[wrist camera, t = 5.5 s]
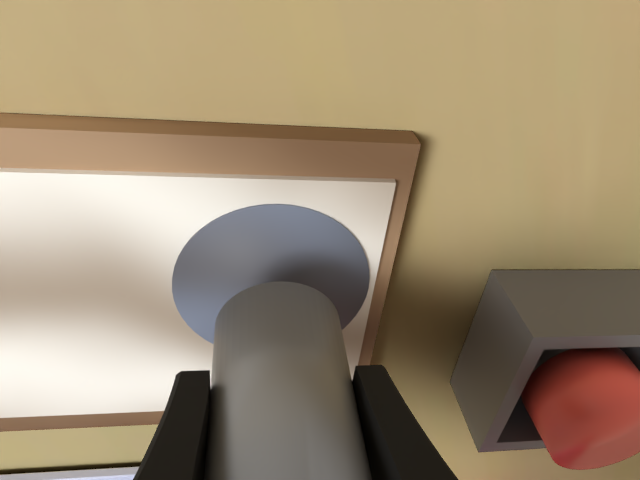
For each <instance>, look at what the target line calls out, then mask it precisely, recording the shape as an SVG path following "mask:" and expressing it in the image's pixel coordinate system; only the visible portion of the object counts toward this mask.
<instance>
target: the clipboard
mask: <svg viewBox="0 0 640 480" xmlns="http://www.w3.org/2000/svg"><path fill="white" fill-rule="evenodd" d="M420 146H421V144H420V142H419V141H418V139H417V137H416V136H415V134H414V133H413V131H398V130H375V129H352V128H329V127H307V126H284V125H261V124H238V123H216V122H193V121H170V120H147V119H124V118H102V117H79V116H56V115H33V114H11V113H0V432H2V431H23V430H44V429H66V428H87V427H109V426H130V425H151V424H159V422H160V420H161V418H162V415H163V413H164V410H165V408H166V405H167V402H168V399H169V396H170V393H171V390H172V387H173V384H174V380H175V376H176V374H178V373H179V372H180V371H197V370H210V388H211V374H212V359H213V345H214V331H215V322H216V318H217V316H218V313H219V311H220V310H221V308H222V307H223V306H224V305H225V303H226V302H227V301H228V300H230V299H231V298H232V297H233V296H235V295H236V294H238V293H239V292H241V291H243V290H245V289H247V288H249V287H252V286H255V285H259V284H263V283H268V282H280V281H283V282H294V283H300V284H303V285H307V286H309V287H312V288H314V289H316V290H318V291H320V292H321V293H323V294H324V295H325V296H327V297H328V298H329V299H330V300H331V302H332V303H333V304H334V306H335V308H336V310H337V312H338V315H339V319H340V324H341V329H342V334H343V339H344V344H345V349H346V354H347V359H348V364H349V369H350V374H351V378H352V380H353V375H354V371H355V366H360V365H370V363H371V358H372V354H373V350H374V345H375V341H376V337H377V332H378V328H379V324H380V319H381V315H382V311H383V306H384V302H385V298H386V293H387V289H388V285H389V280H390V276H391V272H392V267H393V263H394V259H395V254H396V250H397V246H398V241H399V237H400V233H401V228H402V224H403V220H404V216H405V211H406V207H407V203H408V198H409V194H410V190H411V185H412V181H413V177H414V172H415V168H416V164H417V159H418V155H419V151H420Z"/></svg>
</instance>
